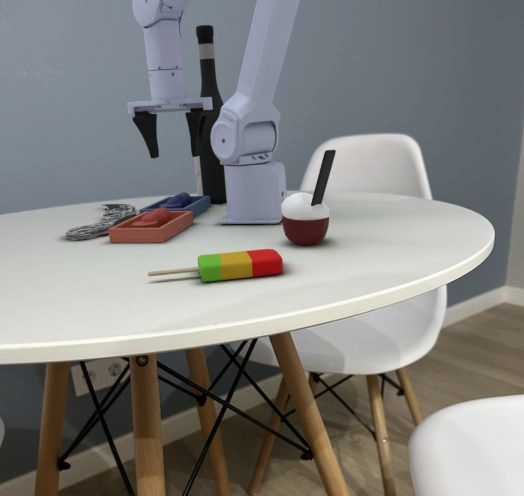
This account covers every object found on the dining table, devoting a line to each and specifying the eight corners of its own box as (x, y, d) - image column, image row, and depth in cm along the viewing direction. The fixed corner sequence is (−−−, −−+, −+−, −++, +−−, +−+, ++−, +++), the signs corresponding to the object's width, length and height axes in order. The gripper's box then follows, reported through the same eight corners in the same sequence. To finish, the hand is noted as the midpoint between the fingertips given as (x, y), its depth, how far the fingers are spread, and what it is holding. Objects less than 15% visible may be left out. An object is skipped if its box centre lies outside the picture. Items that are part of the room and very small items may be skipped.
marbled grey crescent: (99, 201, 113) (150, 195, 112) (101, 209, 113) (152, 203, 113) (52, 235, 87) (118, 227, 86) (55, 245, 87) (120, 237, 87)
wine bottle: (192, 205, 110) (173, 25, 98) (207, 198, 117) (191, 29, 105) (232, 205, 108) (218, 21, 96) (244, 197, 115) (233, 25, 103)
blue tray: (210, 206, 108) (209, 195, 107) (186, 221, 96) (184, 209, 95) (169, 207, 110) (168, 196, 109) (140, 221, 98) (138, 209, 97)
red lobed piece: (156, 222, 94) (153, 206, 93) (177, 222, 93) (176, 205, 92) (129, 236, 85) (126, 218, 84) (153, 236, 84) (150, 218, 83)
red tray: (193, 223, 94) (192, 210, 93) (162, 242, 82) (160, 228, 82) (147, 223, 96) (145, 211, 95) (110, 242, 84) (107, 229, 84)
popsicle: (285, 274, 64) (284, 258, 64) (148, 289, 62) (146, 272, 62) (276, 262, 69) (275, 246, 69) (149, 275, 67) (146, 259, 67)
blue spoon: (178, 205, 108) (176, 191, 107) (197, 205, 107) (195, 190, 106) (156, 216, 99) (154, 200, 98) (177, 216, 98) (175, 200, 97)
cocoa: (277, 237, 81) (273, 147, 76) (321, 233, 82) (319, 144, 77) (291, 254, 72) (288, 153, 68) (340, 249, 73) (340, 149, 68)
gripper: (114, 73, 94) (127, 161, 99) (199, 66, 90) (207, 158, 96) (133, 74, 100) (144, 156, 105) (213, 68, 97) (220, 153, 102)
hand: (175, 157), depth 101 cm, fingers open, 7 cm apart
